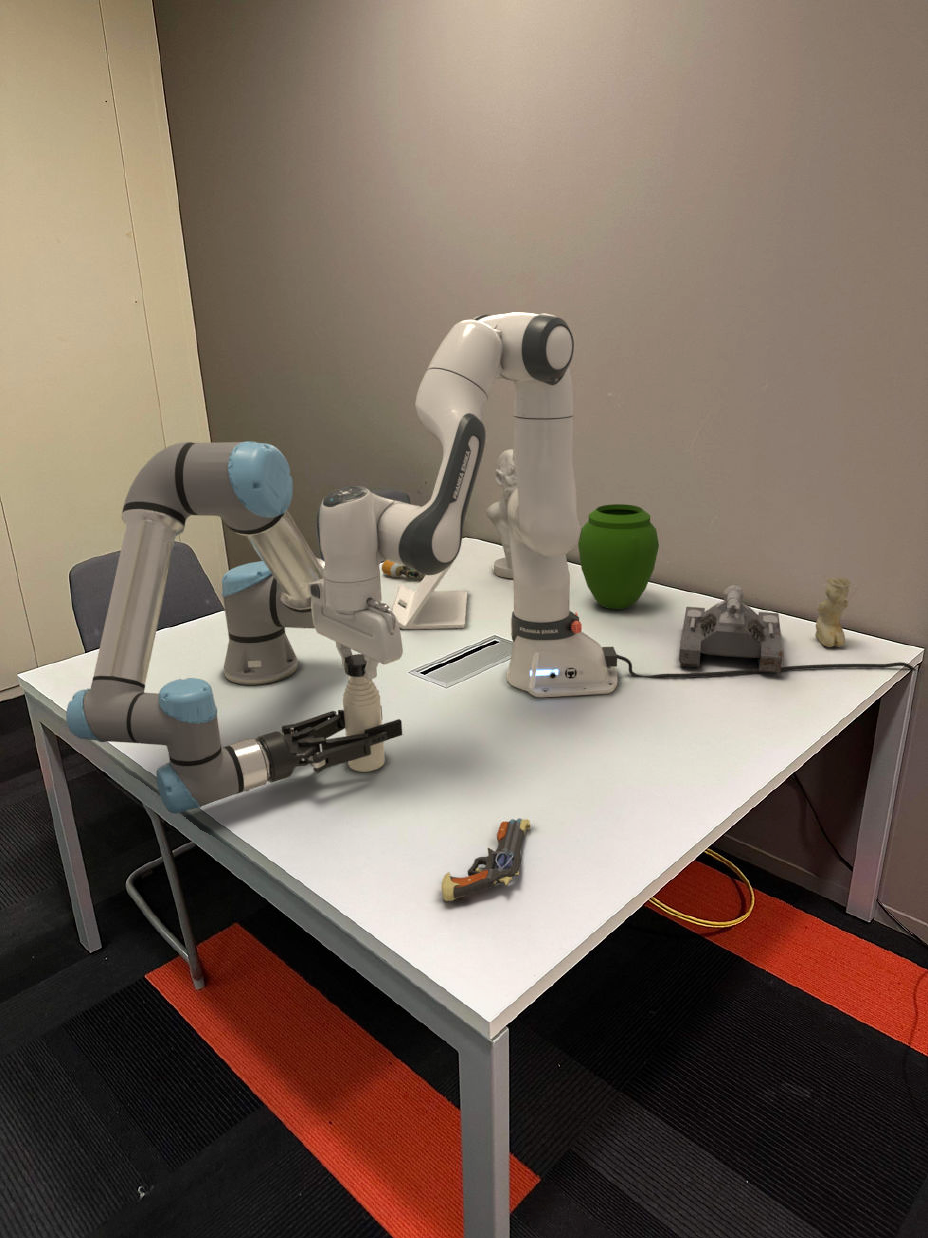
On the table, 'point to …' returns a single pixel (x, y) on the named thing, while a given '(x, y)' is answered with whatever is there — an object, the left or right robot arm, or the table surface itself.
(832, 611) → the sculpture
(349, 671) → the cap
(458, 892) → the toy gun
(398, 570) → the spray gun
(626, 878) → the table surface
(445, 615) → the tablet stand
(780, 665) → the toy
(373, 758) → the bottle
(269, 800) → the table surface
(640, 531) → the vase
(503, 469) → the bust sculpture
